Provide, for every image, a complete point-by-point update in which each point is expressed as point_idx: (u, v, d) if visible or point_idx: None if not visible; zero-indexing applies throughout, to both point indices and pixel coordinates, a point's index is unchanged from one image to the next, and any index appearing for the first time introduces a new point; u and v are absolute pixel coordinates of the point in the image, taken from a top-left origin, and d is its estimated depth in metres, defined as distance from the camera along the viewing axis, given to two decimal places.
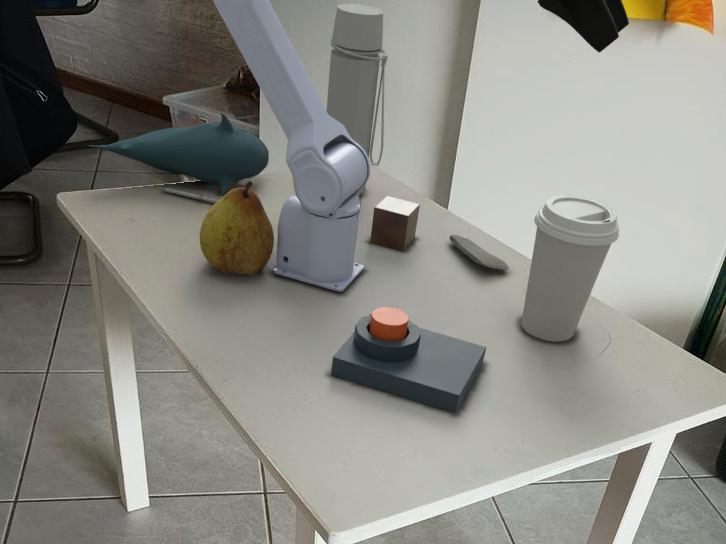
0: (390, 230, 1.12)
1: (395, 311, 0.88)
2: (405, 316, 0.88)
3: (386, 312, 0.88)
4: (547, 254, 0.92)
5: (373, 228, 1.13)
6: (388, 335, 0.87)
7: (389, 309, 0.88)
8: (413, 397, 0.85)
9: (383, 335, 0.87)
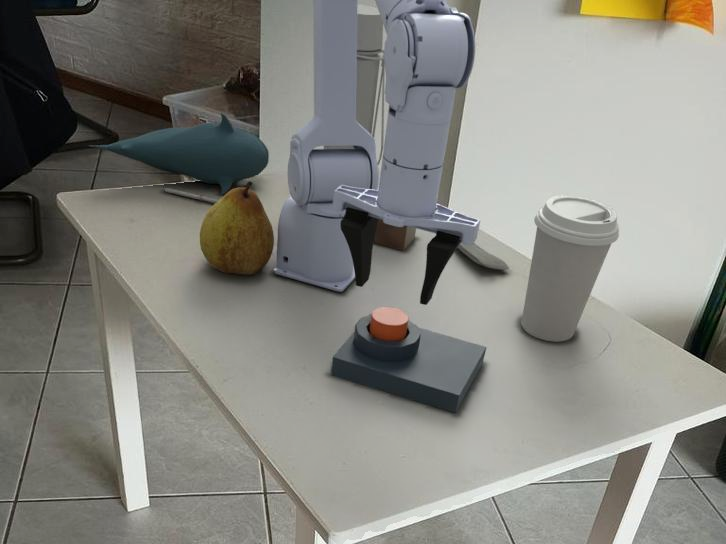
0: (390, 230, 1.12)
1: (395, 311, 0.88)
2: (405, 316, 0.88)
3: (386, 312, 0.88)
4: (547, 254, 0.92)
5: None
6: (388, 335, 0.87)
7: (389, 309, 0.88)
8: (413, 397, 0.85)
9: (383, 335, 0.87)
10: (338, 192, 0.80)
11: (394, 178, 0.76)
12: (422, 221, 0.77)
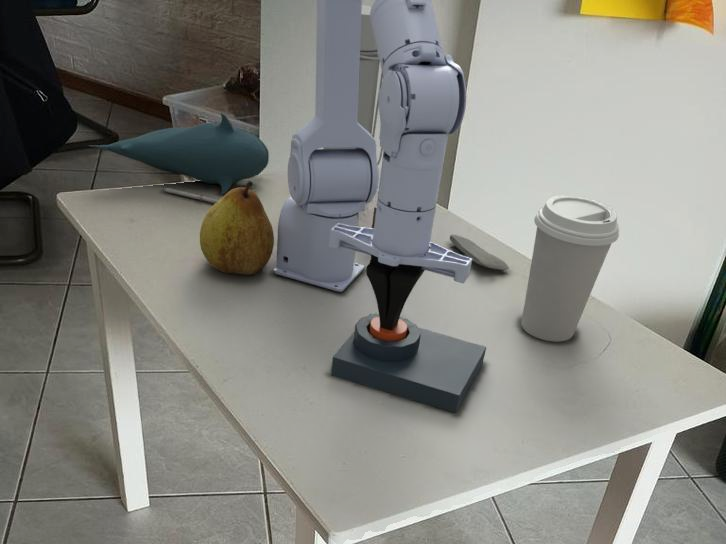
0: None
1: None
2: (403, 325, 0.88)
3: None
4: (547, 254, 0.92)
5: None
6: None
7: None
8: (413, 397, 0.85)
9: None
10: (335, 231, 0.83)
11: (388, 219, 0.78)
12: (416, 260, 0.80)
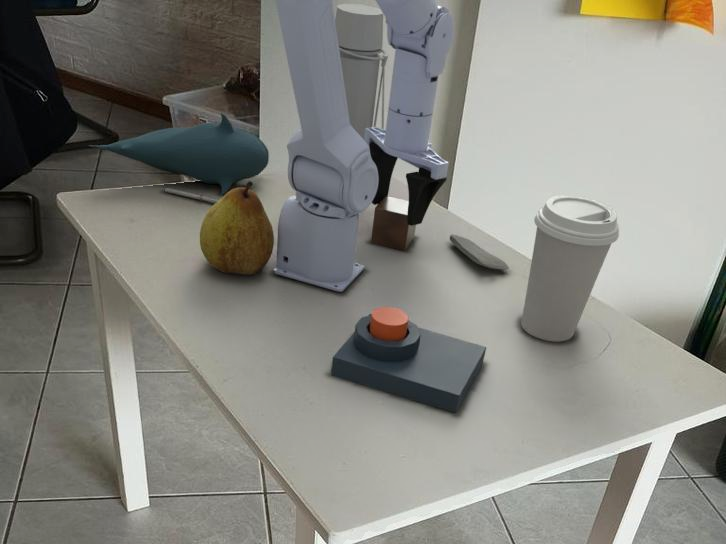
0: (391, 230, 1.12)
1: (395, 311, 0.88)
2: (405, 316, 0.88)
3: (386, 312, 0.88)
4: (547, 254, 0.92)
5: (374, 229, 1.13)
6: (388, 335, 0.87)
7: (389, 309, 0.88)
8: (413, 397, 0.85)
9: (383, 335, 0.87)
10: (446, 161, 1.04)
11: None
12: None
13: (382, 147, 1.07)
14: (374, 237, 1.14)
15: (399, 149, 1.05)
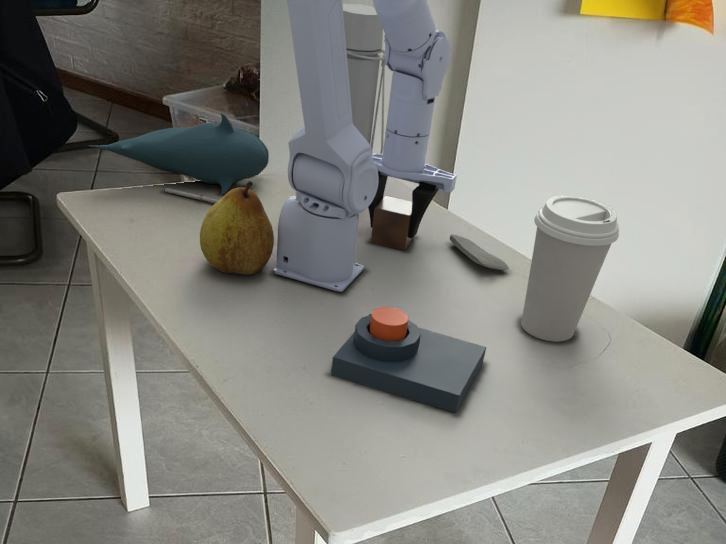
0: (391, 230, 1.12)
1: (395, 311, 0.88)
2: (405, 316, 0.88)
3: (386, 312, 0.88)
4: (547, 254, 0.92)
5: (373, 229, 1.13)
6: (388, 335, 0.87)
7: (389, 309, 0.88)
8: (413, 397, 0.85)
9: (383, 335, 0.87)
10: (453, 174, 1.08)
11: None
12: None
13: (386, 171, 1.08)
14: (374, 237, 1.14)
15: (408, 170, 1.07)
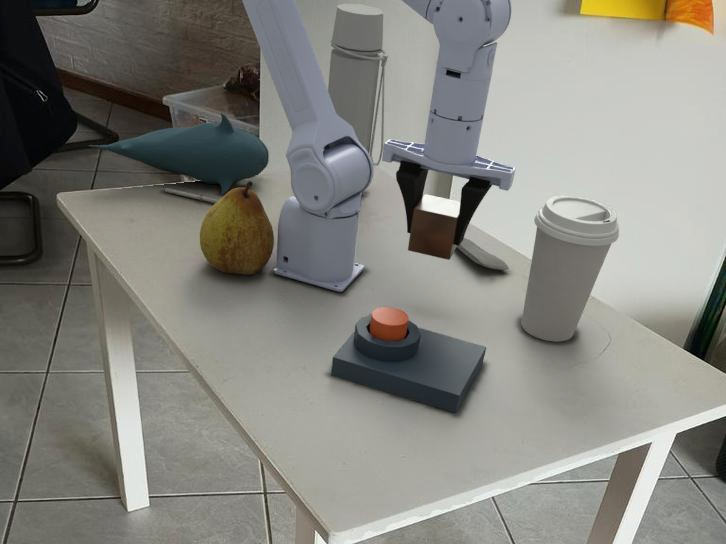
0: (433, 235, 0.93)
1: (395, 311, 0.88)
2: (405, 316, 0.88)
3: (386, 312, 0.88)
4: (547, 254, 0.92)
5: (412, 234, 0.93)
6: (388, 335, 0.87)
7: (389, 309, 0.88)
8: (413, 397, 0.85)
9: (383, 335, 0.87)
10: (510, 167, 0.89)
11: None
12: None
13: (429, 164, 0.88)
14: (412, 244, 0.94)
15: (456, 163, 0.87)
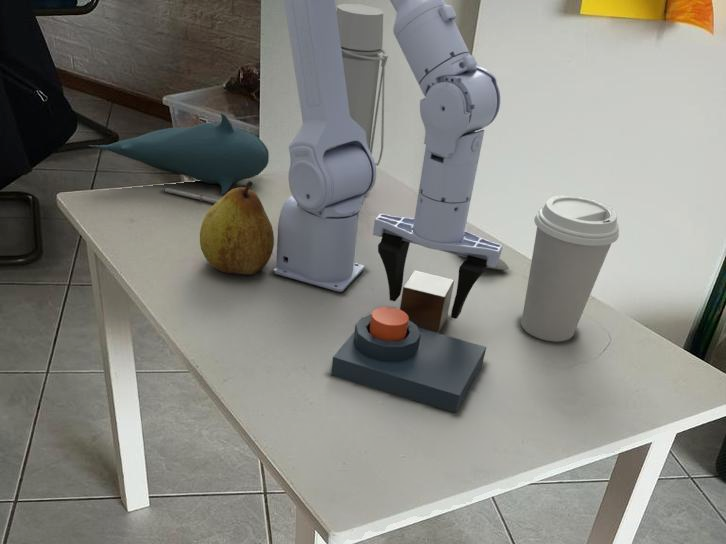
0: (422, 312, 0.95)
1: (395, 311, 0.88)
2: (405, 316, 0.88)
3: (386, 312, 0.88)
4: (547, 254, 0.92)
5: None
6: (388, 335, 0.87)
7: (389, 309, 0.88)
8: (413, 397, 0.85)
9: (383, 335, 0.87)
10: (497, 244, 0.91)
11: None
12: None
13: (418, 241, 0.90)
14: None
15: (444, 241, 0.89)
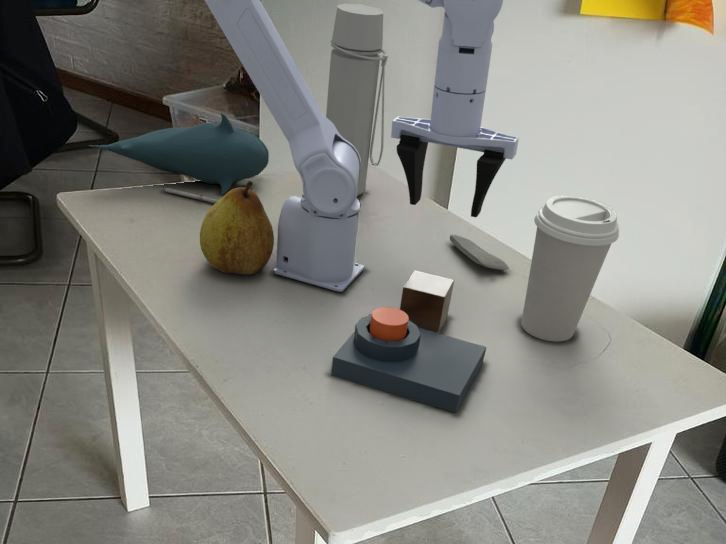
0: (422, 312, 0.95)
1: (395, 311, 0.88)
2: (405, 316, 0.88)
3: (386, 312, 0.88)
4: (547, 254, 0.92)
5: None
6: (388, 335, 0.87)
7: (389, 309, 0.88)
8: (413, 397, 0.85)
9: (383, 335, 0.87)
10: (514, 137, 0.93)
11: None
12: None
13: (436, 137, 0.92)
14: None
15: (461, 135, 0.91)
